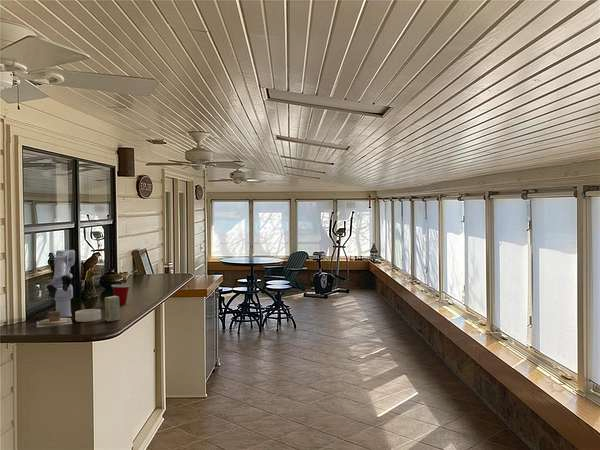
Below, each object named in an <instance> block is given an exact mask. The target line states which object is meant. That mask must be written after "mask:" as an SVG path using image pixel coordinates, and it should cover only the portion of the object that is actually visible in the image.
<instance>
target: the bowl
mask: <svg viewBox="0 0 600 450" xmlns="http://www.w3.org/2000/svg"><path fill="white" fill-rule="evenodd" d="M74 313H75V315H74V316H75V317H74V318H75V322H79V323H80V322H81V323H82V322H84V323H85V322H86V323H87V322H95V321H99V320H101V319H102V311H101V309H99V308H97V309H96V308H89V309H80V310H77V311H74Z"/></svg>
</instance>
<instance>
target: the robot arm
mask: <svg viewBox="0 0 600 450" xmlns="http://www.w3.org/2000/svg"><path fill="white" fill-rule="evenodd" d="M53 258H54V259H53V263H54V265H53V266H54V272H53V276H52V280H51V281H50V283H48V284H47V285H46V289H47V291H48V292H49V295H50V298H52V299H53V300H54V301H55V311H60V318H68V317H72V316H73V315H72V312H71V311H72V309H71V299H73V297H74V287H73V285H72V283H73V280H72V279H73V274H72V273H71V272H70V271H71V267H73V266H74V265H75V261H76V251H75V250H74V249H67V250H56V251H55V256H54V257H53Z"/></svg>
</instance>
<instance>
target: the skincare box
mask: <svg viewBox="0 0 600 450" xmlns="http://www.w3.org/2000/svg"><path fill="white" fill-rule="evenodd" d="M120 306H121V305H120V304H119V296H114V295H112V296H106V297H104V313H105V315H104V317H105V318H104V319H105V320H106V321H105V320H104V321H105V322H109V321H111V322H113V321H119V320H121V307H120Z"/></svg>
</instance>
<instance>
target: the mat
mask: <svg viewBox="0 0 600 450" xmlns="http://www.w3.org/2000/svg"><path fill="white" fill-rule="evenodd" d="M39 321H40V320H39ZM39 321H36V328H43V327H54V326H55V327H56V325H39ZM72 324H73V321H72V318H70V317H69V322H68V323H64V324H59V325H58V326H64V325H72Z"/></svg>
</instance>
